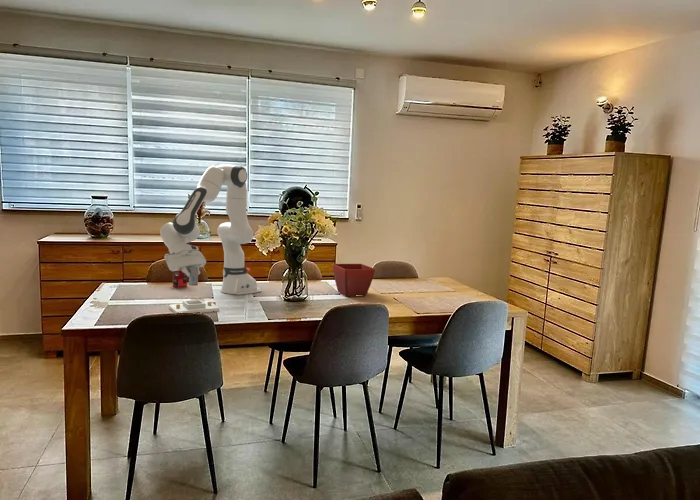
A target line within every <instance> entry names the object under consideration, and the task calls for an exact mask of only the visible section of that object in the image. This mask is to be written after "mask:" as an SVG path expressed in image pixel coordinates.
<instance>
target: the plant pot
mask: <svg viewBox="0 0 700 500" xmlns="http://www.w3.org/2000/svg"><path fill="white" fill-rule="evenodd" d="M332 270H333V276H334V281H335V282H334V283H335V285H336V289H337V293H339V292H340V293H339V294H341V293H342V294H341V295H343V296H344V295H345V297H346V296H353V297H357V296H356V295H366V296H367V294H368V291H369V290H370V287H371V286H372V285H371V284H372V282H373V278H374V275H375V271H376V269H375V268H374V267H371V266H368V265H366V264H362V263H332Z"/></svg>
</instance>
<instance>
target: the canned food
mask: <svg viewBox="0 0 700 500" xmlns="http://www.w3.org/2000/svg"><path fill="white" fill-rule="evenodd" d="M186 270H188V271H189V269H186ZM187 286H188V276H187V275H186V274H185V273H184V272H182V270H179V271H172V287H174V288H180V289H181V288H186V287H187Z"/></svg>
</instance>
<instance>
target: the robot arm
mask: <svg viewBox="0 0 700 500" xmlns="http://www.w3.org/2000/svg"><path fill="white" fill-rule="evenodd" d="M204 171H205V172H203V174H202V176H201V177H200V179H199V182H198V184H197V185H196V187H195V189H194V190H192V191H193V192H192V193H191V194H190V196H189V198H188V199H187V201H186V203H185V204H184V206H183V208H182V209H181V211H179V212H178V213H177V214H175V216H174V217H173V219H172V222H166V223H165V224H163V225H162V226H161V227H160V229H159V234H160V238H161V239H162V242H163V243H164V245H165V246H166V247H167V248H168V252H169V253H165V254H164V256H163V258H164V260H165V262H166V265H167V268H168V269H169V271H171V272H173V271H179V270H182V272H184V273H185V274H186V275H187V277H189V276H191V275H192V274H191V272H190V271H189V266H198V276H199V275H200V274H201V271H200V268H203V267H205V266H206V264H207V259H206V257H205V256H204V254H203V253H202V252H201V251H199V246H196V245H192V244H190V243H192V242H193V241H195V240H197V239H198V238H199V237H200V235H201V229H200V227H199V225H198V223H197V222H196V215H197V213H198V211H199V209H200V208H201V205H202V204H203V203H212V202H213V201H215V200H216V198H217V197H218V196H219V193H220V191H221V189H222V186H226V187H227V188H226V189H227V190H226V196H225V197H226V199H225V213H226V214H227V216H228V218H229V221H225V222H222V223H220V224H219V225H218V227H217V230H216V231H217V232H216V233H217V235H218V237H219V238H220V241H221V245H222V248H223V260H224V261H223V267H222V268H223V270H222V276H223V279H222V285H221V288H220V292H221V293H224V294H229V295H237V296H239V295H246V294H254V293H261V292H262V289H261V287H258V283H257V280H256V279H255V278H254V277H253V276H251V275H250V274H249V272H251V269H250V268H249V267H246V266H245V252H244V250H243V248H242V245H244V244H249V243H251V241H253V238H254V236H255V235H254V234H255V233H254V230H253V229H252V227H251V226H250V223H249V219H248V214H247V204H248V203H247V202H248V201H247V198H248V195H247V194H248V191H247V183H246V182H247V178H248V172H247V170H246V169H245V167H244V166H242V165H239V164H237V165H235V164H214V165H212V166H211V165H210V166H209V167H207V169H206V170H204ZM186 269H188V270H186Z"/></svg>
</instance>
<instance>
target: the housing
mask: <svg viewBox="0 0 700 500" xmlns="http://www.w3.org/2000/svg"><path fill="white" fill-rule="evenodd" d="M168 308H169V309H170V310H171V311H172V313H174V314H175V313H179V312H200V313H199V314H201V313H203V314H204V313H213V311H214V312H220V307H219V306H217V305H216V304H215V303H213V302H212V301H210V300H209V301H203V300H202V299H192V300H191V299H190V300H182V303H175V304H174V303H172V304H169V305H168Z"/></svg>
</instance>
